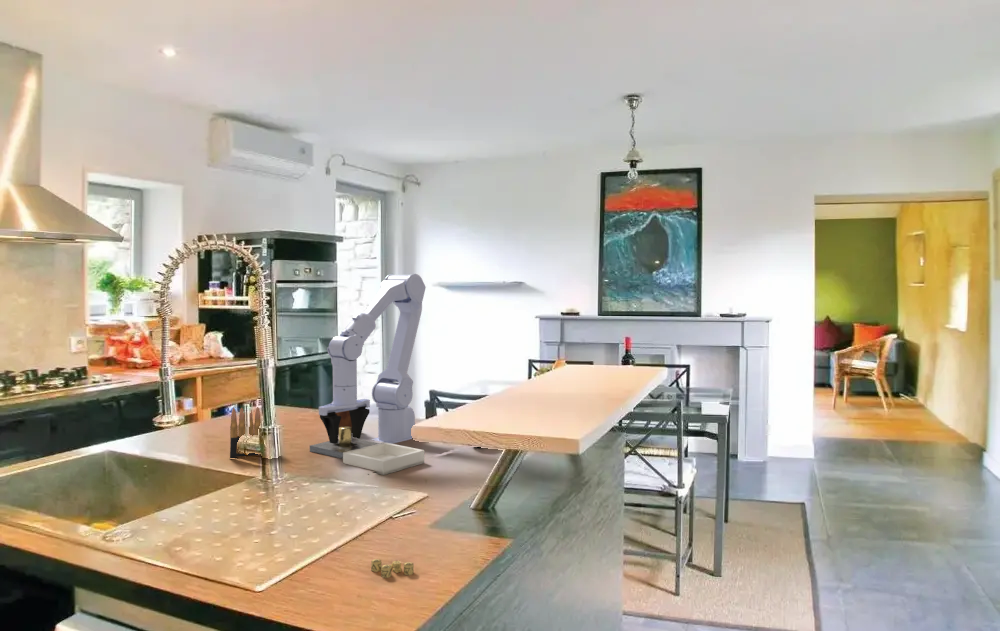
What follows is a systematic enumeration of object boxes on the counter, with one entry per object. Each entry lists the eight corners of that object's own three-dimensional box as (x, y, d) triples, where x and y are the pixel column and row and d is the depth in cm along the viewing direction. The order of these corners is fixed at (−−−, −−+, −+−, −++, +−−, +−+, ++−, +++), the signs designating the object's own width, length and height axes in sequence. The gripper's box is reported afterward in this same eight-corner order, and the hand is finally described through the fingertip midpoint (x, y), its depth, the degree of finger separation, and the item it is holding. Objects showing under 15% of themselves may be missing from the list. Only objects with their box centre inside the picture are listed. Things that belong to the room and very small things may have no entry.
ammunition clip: (277, 454, 172) (277, 405, 171) (277, 456, 170) (277, 406, 170) (230, 457, 169) (229, 407, 168) (229, 459, 167) (229, 408, 166)
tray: (384, 454, 172) (384, 442, 172) (424, 462, 164) (424, 450, 164) (343, 465, 162) (343, 452, 162) (383, 475, 154) (383, 461, 154)
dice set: (415, 578, 102) (415, 564, 102) (381, 585, 100) (381, 572, 100) (402, 565, 107) (402, 553, 107) (369, 572, 104) (369, 559, 104)
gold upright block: (345, 448, 176) (345, 426, 176) (354, 449, 174) (354, 427, 174) (336, 450, 174) (336, 428, 173) (344, 452, 172) (344, 429, 172)
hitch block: (347, 444, 182) (347, 437, 182) (380, 451, 175) (380, 443, 175) (309, 453, 173) (309, 445, 173) (342, 461, 166) (342, 452, 166)
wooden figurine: (328, 434, 194) (328, 379, 194) (344, 430, 199) (344, 377, 198) (346, 437, 190) (345, 382, 190) (361, 434, 195) (361, 379, 194)
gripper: (356, 380, 181) (356, 433, 182) (310, 387, 170) (310, 443, 170) (375, 382, 177) (375, 436, 178) (329, 389, 166) (330, 447, 166)
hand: (345, 440), depth 174 cm, fingers open, 7 cm apart
